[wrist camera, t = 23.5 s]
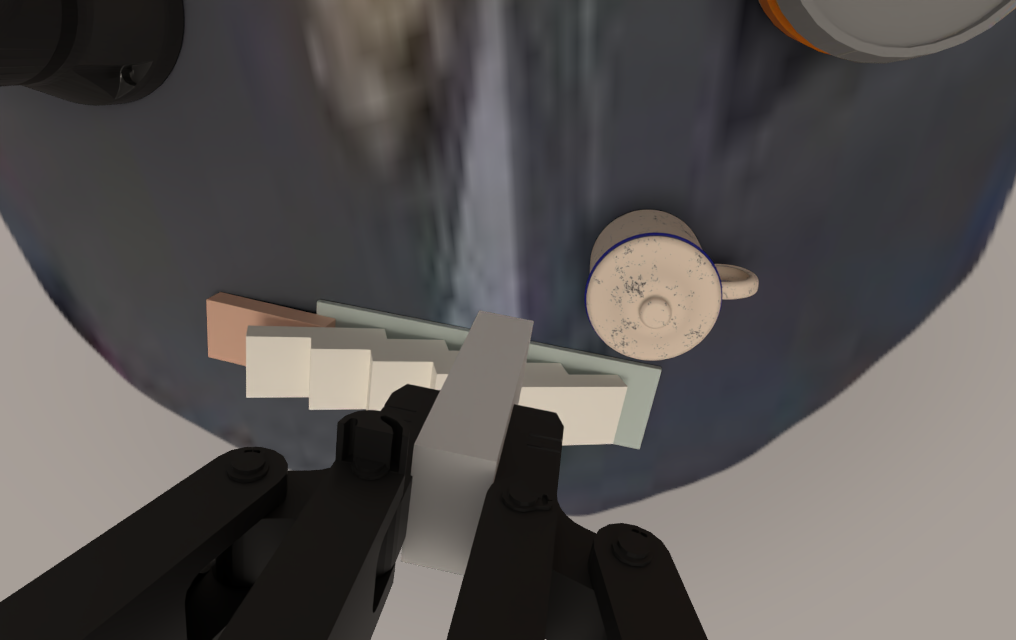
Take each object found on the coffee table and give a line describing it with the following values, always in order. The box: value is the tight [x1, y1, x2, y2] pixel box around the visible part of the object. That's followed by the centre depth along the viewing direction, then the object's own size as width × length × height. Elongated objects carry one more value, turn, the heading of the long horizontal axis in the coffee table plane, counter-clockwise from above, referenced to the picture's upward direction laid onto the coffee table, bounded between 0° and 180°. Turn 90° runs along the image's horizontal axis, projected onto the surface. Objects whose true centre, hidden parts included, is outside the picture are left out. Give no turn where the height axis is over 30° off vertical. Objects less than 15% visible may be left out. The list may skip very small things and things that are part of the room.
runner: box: [317, 299, 662, 449], centre depth 57 cm, size 30×8×1 cm, turn 81°
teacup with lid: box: [585, 210, 758, 360], centre depth 46 cm, size 12×9×12 cm
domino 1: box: [206, 292, 336, 366], centre depth 57 cm, size 2×6×11 cm
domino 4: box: [366, 350, 459, 411], centre depth 54 cm, size 2×6×11 cm
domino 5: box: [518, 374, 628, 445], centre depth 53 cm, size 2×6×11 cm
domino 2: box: [246, 326, 387, 398], centre depth 54 cm, size 2×6×11 cm
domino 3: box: [309, 338, 449, 410], centre depth 54 cm, size 2×6×11 cm
